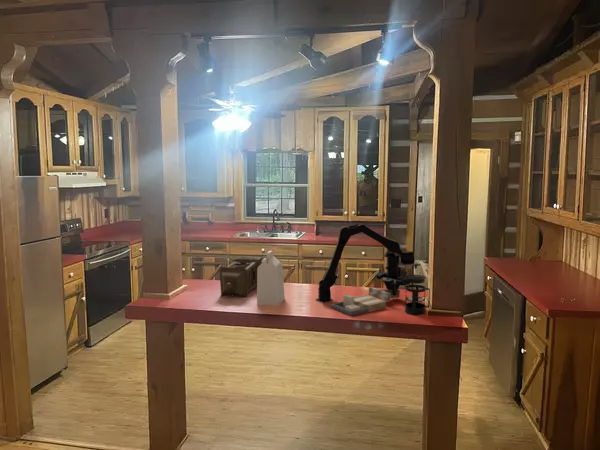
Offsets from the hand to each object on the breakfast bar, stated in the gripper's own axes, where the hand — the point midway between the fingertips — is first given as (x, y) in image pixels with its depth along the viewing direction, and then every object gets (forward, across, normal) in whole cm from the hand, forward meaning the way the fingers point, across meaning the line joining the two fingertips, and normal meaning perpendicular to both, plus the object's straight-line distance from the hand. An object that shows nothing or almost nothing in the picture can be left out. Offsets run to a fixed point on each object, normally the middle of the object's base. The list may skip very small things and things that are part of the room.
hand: (392, 294), depth 233 cm
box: (+2, 0, +28) cm, 29 cm away
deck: (+2, 0, +18) cm, 18 cm away
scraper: (+1, 0, +3) cm, 3 cm away
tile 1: (0, +4, +25) cm, 25 cm away
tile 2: (0, -4, +30) cm, 30 cm away
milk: (+3, +34, +52) cm, 62 cm away
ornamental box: (+3, +59, +58) cm, 83 cm away
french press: (+3, -20, +5) cm, 21 cm away
